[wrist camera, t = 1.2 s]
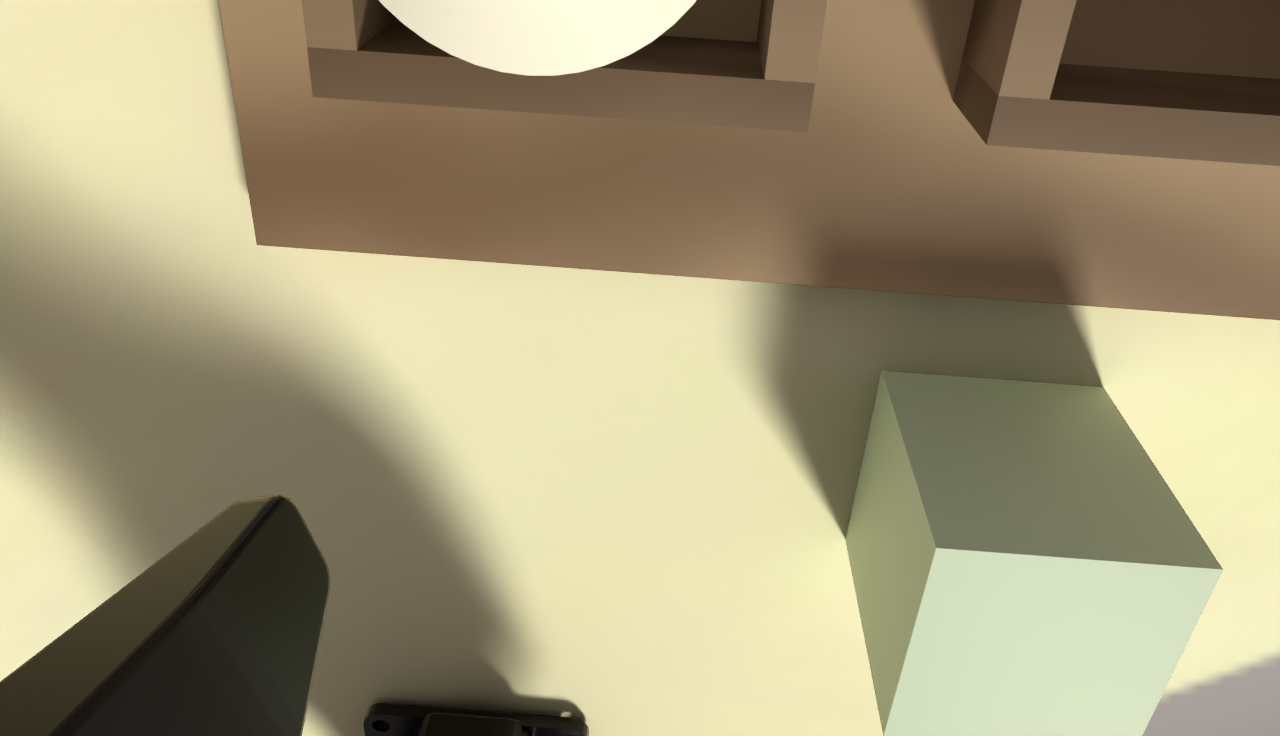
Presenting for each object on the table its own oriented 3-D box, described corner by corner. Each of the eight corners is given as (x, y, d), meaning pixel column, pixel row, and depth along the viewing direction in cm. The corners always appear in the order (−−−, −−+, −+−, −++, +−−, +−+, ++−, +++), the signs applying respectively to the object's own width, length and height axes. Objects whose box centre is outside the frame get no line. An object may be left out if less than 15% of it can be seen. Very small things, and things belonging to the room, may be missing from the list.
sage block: (1043, 552, 25) (1132, 754, 20) (844, 537, 25) (883, 735, 20) (1102, 385, 22) (1223, 569, 17) (881, 369, 22) (936, 548, 17)
